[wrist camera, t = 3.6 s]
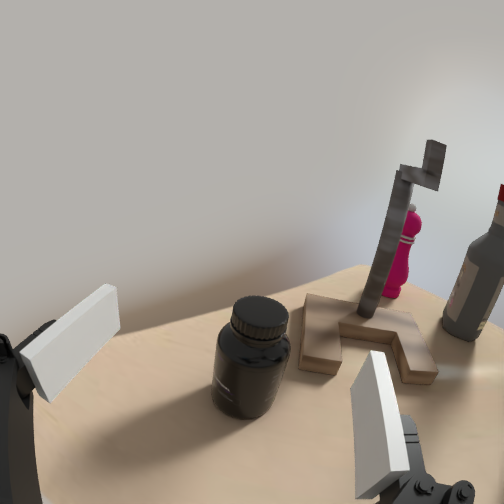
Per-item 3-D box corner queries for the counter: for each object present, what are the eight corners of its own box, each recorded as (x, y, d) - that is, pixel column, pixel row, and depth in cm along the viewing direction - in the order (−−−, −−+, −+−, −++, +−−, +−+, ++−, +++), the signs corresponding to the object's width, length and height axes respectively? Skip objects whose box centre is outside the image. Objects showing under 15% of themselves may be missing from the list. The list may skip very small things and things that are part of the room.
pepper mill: (378, 298, 54) (407, 204, 47) (367, 282, 61) (391, 196, 54) (405, 300, 55) (435, 212, 47) (392, 285, 61) (417, 203, 54)
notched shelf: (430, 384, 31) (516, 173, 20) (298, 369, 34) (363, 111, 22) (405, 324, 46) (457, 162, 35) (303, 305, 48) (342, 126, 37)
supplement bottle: (199, 405, 26) (204, 315, 22) (226, 368, 32) (239, 281, 28) (261, 430, 24) (289, 344, 20) (281, 387, 30) (307, 302, 26)
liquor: (441, 331, 44) (494, 178, 33) (441, 312, 51) (484, 178, 40) (476, 345, 40) (533, 197, 29) (473, 325, 47) (519, 194, 36)
